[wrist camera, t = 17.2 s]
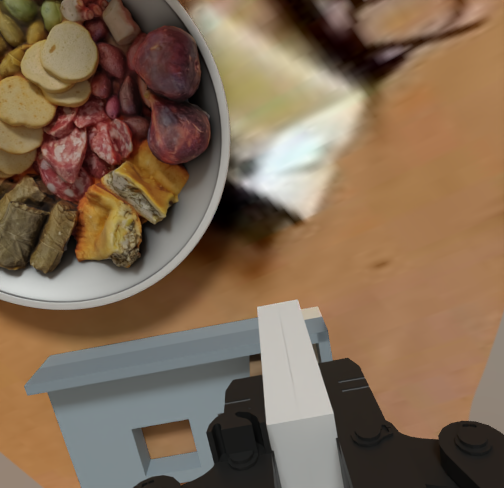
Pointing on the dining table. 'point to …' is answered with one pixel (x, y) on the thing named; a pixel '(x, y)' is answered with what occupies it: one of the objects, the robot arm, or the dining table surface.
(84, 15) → the bowl
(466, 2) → the dining table surface
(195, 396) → the box
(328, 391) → the robot arm
